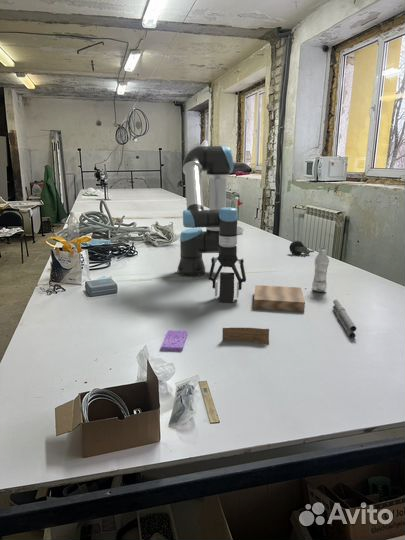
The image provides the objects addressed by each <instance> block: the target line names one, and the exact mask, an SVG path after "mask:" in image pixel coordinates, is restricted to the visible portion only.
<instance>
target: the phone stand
mask: <svg viewBox="0 0 405 540" xmlns="http://www.w3.org/2000/svg"><path fill="white" fill-rule="evenodd" d="M234 298H235V273H234V272H223V271H220V273H219V296H218V302H219V303H223V304H224V303H231V304H234Z"/></svg>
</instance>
